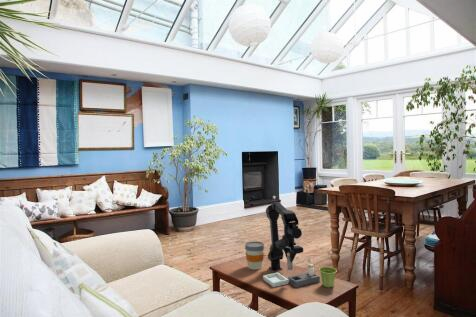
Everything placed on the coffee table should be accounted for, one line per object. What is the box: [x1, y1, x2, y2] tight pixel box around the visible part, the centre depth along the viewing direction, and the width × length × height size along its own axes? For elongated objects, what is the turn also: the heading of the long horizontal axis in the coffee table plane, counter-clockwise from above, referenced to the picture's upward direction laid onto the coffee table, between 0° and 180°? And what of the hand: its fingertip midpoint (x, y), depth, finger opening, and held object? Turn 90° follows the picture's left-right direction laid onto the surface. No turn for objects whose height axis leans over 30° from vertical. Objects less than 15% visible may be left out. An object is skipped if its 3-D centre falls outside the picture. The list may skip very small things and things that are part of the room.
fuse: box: [307, 263, 315, 277], centre depth 179 cm, size 3×3×9 cm
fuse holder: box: [287, 272, 321, 288], centre depth 177 cm, size 8×16×3 cm, turn 114°
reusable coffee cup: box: [244, 241, 265, 270], centre depth 203 cm, size 13×13×15 cm
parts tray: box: [262, 272, 290, 288], centre depth 179 cm, size 12×10×2 cm
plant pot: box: [318, 266, 338, 288], centre depth 172 cm, size 9×9×9 cm
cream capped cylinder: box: [286, 252, 294, 271], centre depth 176 cm, size 3×3×9 cm
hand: (289, 261), depth 176 cm, fingers closed on cream capped cylinder, 3 cm apart
